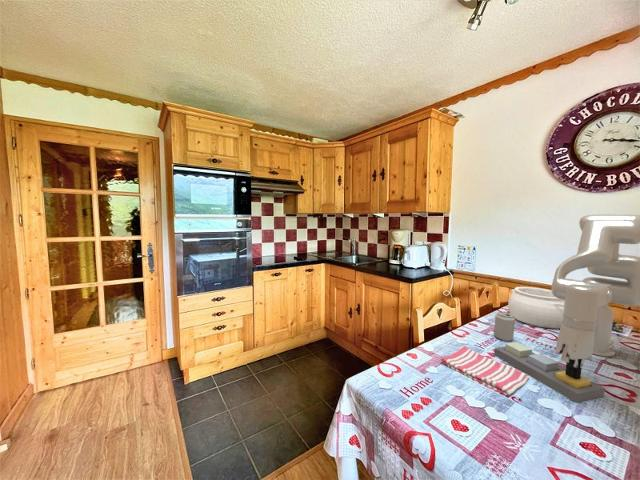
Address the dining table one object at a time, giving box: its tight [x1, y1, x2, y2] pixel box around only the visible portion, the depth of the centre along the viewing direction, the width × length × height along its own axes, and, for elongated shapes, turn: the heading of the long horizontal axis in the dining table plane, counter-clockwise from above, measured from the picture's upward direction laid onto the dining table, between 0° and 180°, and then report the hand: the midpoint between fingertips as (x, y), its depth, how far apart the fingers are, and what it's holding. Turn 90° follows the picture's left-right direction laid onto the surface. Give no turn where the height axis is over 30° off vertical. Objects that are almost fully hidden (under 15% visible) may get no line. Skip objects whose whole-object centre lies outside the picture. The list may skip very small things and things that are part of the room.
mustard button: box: [555, 371, 592, 389], centre depth 84 cm, size 6×6×3 cm
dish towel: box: [440, 345, 530, 397], centre depth 94 cm, size 17×23×4 cm
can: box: [493, 311, 516, 342], centre depth 120 cm, size 8×8×12 cm
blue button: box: [528, 353, 560, 372], centre depth 93 cm, size 6×6×3 cm
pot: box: [507, 286, 565, 329], centre depth 141 cm, size 29×26×16 cm
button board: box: [493, 346, 606, 403], centre depth 93 cm, size 12×28×3 cm, turn 14°
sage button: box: [504, 341, 533, 358], centre depth 101 cm, size 6×6×3 cm
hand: (572, 376), depth 84 cm, fingers closed
